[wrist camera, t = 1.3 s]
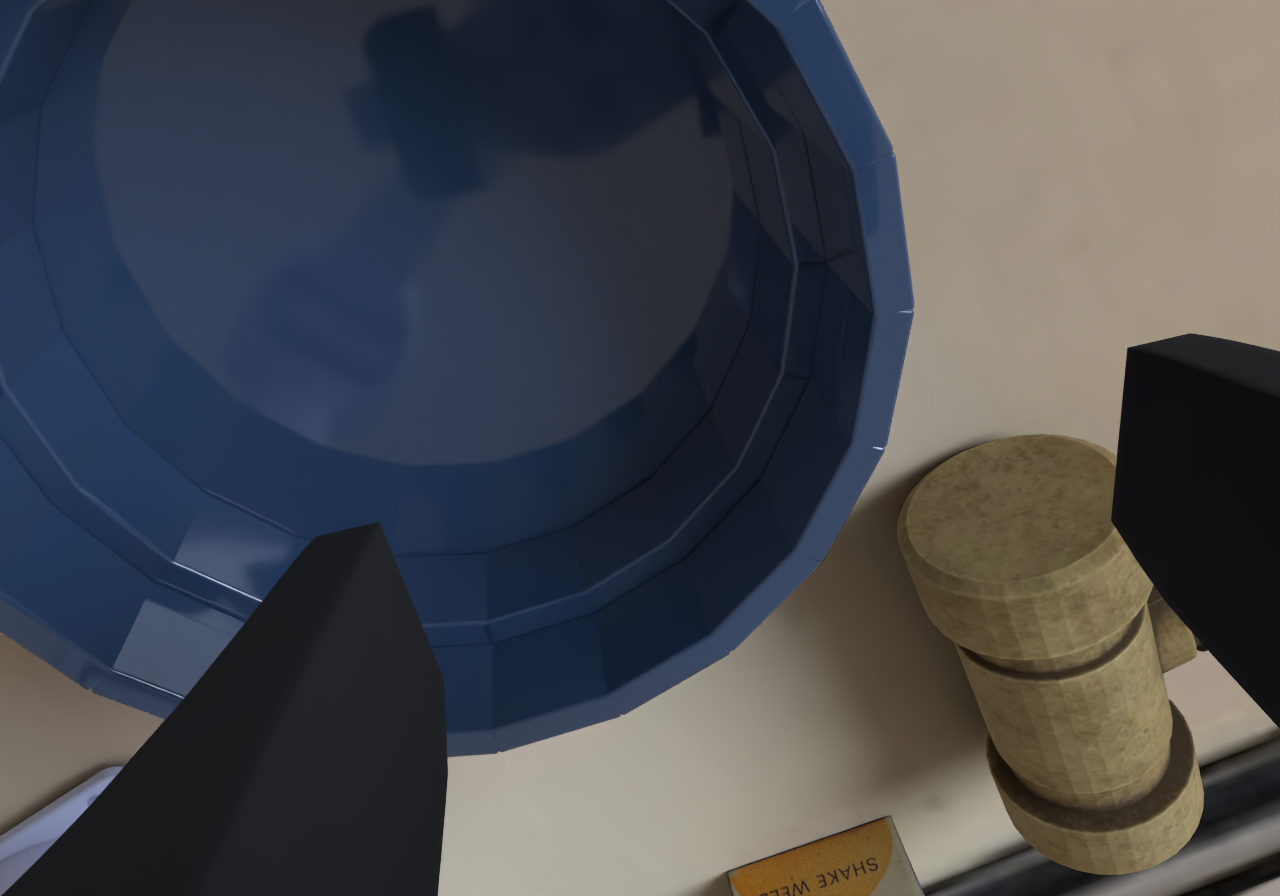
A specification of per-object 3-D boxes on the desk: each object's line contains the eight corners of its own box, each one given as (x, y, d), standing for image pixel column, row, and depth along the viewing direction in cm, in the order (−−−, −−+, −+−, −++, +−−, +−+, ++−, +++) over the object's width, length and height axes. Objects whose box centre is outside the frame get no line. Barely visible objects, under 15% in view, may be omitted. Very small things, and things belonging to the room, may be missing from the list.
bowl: (383, 678, 22) (356, 871, 18) (-234, 169, 15) (-524, 286, 11) (929, 337, 19) (1054, 467, 15) (491, -476, 12) (492, -665, 8)
